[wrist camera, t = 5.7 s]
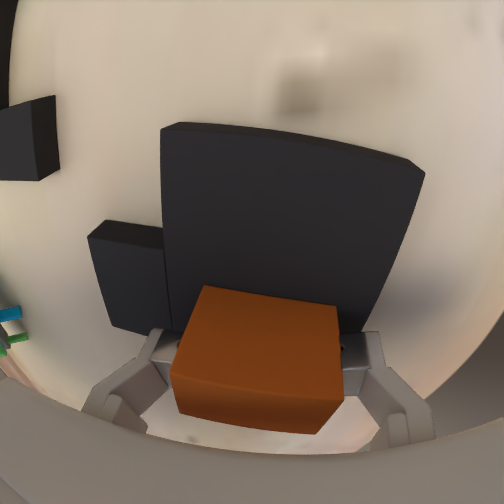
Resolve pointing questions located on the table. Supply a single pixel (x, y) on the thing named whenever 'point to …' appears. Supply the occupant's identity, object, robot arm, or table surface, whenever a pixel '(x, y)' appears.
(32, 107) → the socket pad
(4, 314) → the gear
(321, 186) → the pad
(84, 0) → the table surface
